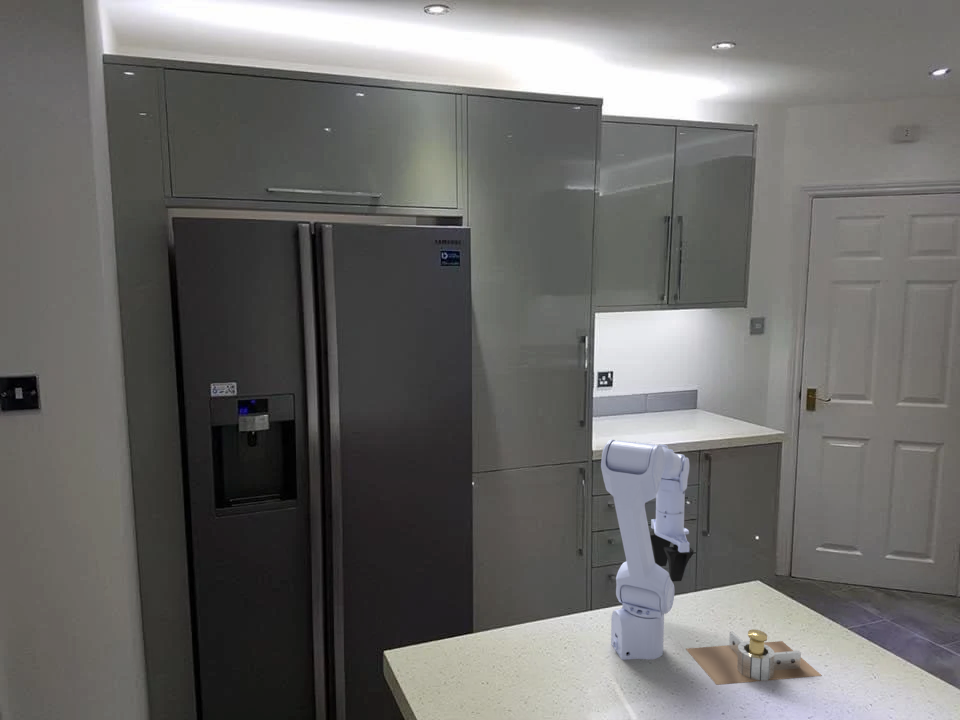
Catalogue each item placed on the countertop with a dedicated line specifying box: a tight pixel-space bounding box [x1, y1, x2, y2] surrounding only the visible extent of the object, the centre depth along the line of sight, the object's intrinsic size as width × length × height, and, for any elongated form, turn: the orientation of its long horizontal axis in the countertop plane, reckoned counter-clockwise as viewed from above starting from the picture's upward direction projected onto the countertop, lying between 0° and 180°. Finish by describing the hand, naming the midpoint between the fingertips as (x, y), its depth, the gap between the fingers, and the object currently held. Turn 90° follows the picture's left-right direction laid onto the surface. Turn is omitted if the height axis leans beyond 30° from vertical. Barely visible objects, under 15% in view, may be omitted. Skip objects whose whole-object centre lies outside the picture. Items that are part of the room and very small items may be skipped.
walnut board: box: [685, 640, 822, 686], centre depth 122 cm, size 20×12×1 cm, turn 98°
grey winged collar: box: [728, 630, 802, 682], centre depth 122 cm, size 12×12×4 cm
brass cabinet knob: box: [747, 629, 768, 656], centre depth 119 cm, size 3×3×7 cm
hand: (668, 572), depth 139 cm, fingers open, 7 cm apart
